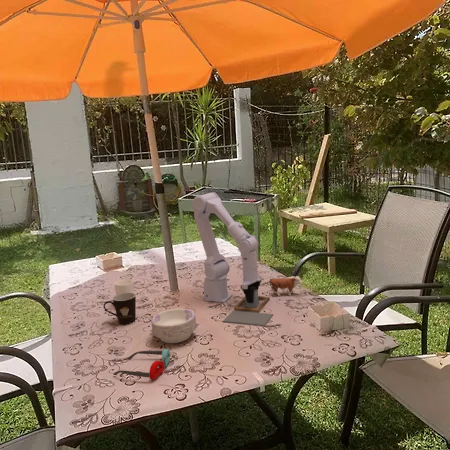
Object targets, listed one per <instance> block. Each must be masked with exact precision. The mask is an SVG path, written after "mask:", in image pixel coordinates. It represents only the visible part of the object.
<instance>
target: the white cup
mask: <svg viewBox="0 0 450 450" xmlns="http://www.w3.org/2000/svg"><path fill="white" fill-rule="evenodd" d="M113 284H114V291H115V295H118V294H121V293H134V294H135V282H134V279H127V278H126V279H120V280H117V281H114V283H113Z"/></svg>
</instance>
